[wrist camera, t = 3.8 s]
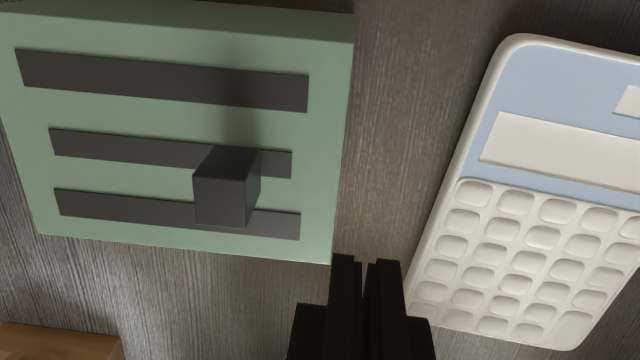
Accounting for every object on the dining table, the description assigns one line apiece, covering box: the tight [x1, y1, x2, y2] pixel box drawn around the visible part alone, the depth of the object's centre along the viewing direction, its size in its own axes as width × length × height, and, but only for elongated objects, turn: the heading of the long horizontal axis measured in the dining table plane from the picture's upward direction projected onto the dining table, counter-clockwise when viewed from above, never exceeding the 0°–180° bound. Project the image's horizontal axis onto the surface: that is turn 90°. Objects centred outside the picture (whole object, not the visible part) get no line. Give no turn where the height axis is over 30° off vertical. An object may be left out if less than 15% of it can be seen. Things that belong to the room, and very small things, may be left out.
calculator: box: [403, 33, 640, 351], centre depth 25 cm, size 13×20×2 cm, turn 169°
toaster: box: [0, 0, 355, 265], centre depth 20 cm, size 14×10×8 cm
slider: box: [192, 144, 261, 229], centre depth 15 cm, size 2×2×3 cm
